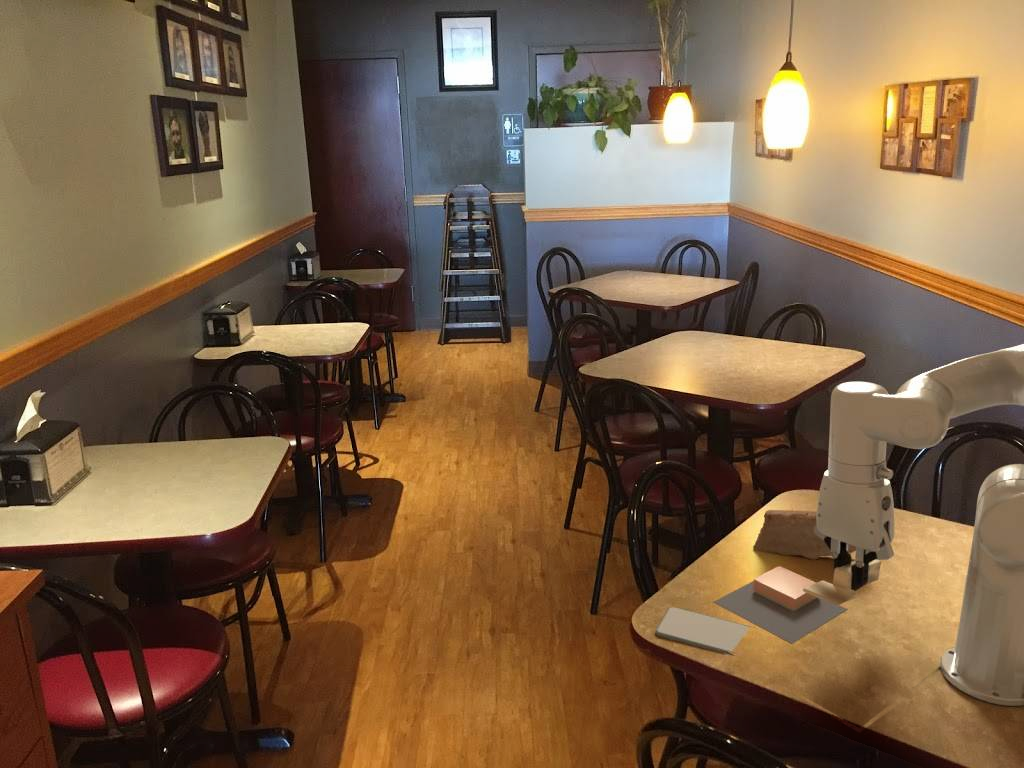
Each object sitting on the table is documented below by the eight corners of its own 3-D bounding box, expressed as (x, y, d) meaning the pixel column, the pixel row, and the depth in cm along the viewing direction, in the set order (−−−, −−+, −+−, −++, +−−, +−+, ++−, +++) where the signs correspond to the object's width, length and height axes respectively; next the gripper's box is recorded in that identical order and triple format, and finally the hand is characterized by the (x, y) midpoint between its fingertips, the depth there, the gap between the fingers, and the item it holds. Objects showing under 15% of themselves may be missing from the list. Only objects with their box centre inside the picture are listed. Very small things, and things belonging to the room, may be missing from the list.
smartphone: (752, 658, 123) (654, 631, 130) (752, 664, 124) (653, 637, 130) (763, 628, 130) (669, 604, 137) (763, 634, 131) (669, 610, 137)
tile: (820, 584, 138) (779, 565, 144) (795, 599, 134) (753, 579, 140) (819, 597, 138) (778, 578, 145) (793, 612, 134) (752, 592, 141)
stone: (753, 547, 157) (753, 559, 154) (753, 504, 153) (753, 516, 150) (859, 551, 152) (862, 564, 149) (862, 507, 148) (865, 520, 145)
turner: (855, 570, 131) (857, 552, 130) (888, 583, 127) (891, 564, 126) (802, 591, 122) (805, 571, 122) (837, 605, 118) (839, 585, 118)
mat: (847, 611, 135) (847, 609, 135) (791, 645, 127) (791, 643, 126) (769, 574, 147) (769, 572, 147) (712, 603, 138) (713, 601, 138)
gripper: (924, 475, 116) (915, 594, 121) (821, 448, 128) (817, 557, 133) (895, 491, 112) (887, 613, 117) (792, 461, 124) (789, 573, 129)
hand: (850, 583), depth 125 cm, fingers closed on turner, 2 cm apart
